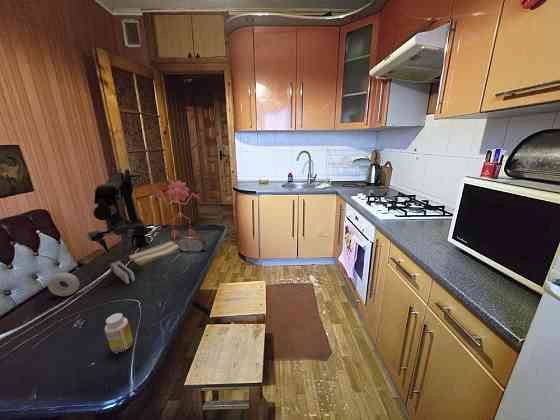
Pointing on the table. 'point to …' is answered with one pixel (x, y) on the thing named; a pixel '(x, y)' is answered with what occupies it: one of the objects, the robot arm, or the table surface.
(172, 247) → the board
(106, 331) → the supplement bottle
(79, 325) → the blueberries
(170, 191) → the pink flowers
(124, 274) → the tongs
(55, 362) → the table surface
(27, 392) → the table surface
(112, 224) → the robot arm
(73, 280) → the donut
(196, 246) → the tin
